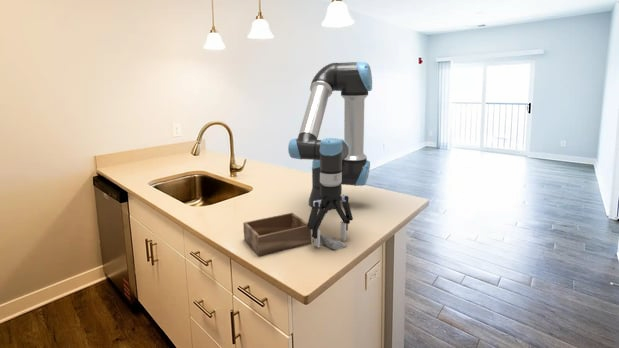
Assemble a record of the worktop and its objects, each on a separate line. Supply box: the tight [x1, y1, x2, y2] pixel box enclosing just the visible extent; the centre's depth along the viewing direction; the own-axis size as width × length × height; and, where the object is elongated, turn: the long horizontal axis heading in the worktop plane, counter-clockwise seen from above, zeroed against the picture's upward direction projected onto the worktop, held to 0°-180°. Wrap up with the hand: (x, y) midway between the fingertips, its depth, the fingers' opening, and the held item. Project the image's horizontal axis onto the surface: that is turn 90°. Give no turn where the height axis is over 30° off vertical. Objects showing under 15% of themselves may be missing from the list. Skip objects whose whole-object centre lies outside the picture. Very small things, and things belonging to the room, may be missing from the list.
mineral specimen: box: [311, 233, 347, 250], centre depth 125 cm, size 6×12×4 cm, turn 46°
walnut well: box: [243, 212, 312, 258], centre depth 127 cm, size 15×20×7 cm
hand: (330, 242), depth 126 cm, fingers open, 10 cm apart
